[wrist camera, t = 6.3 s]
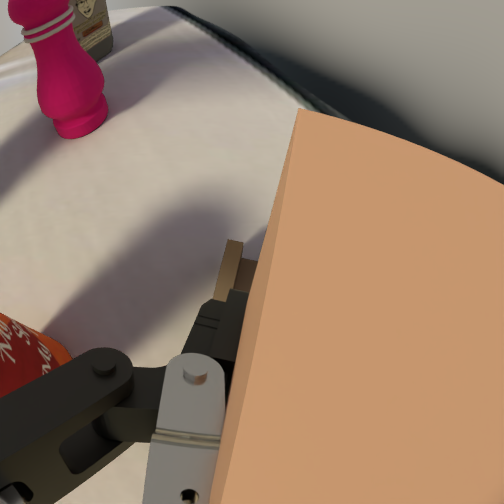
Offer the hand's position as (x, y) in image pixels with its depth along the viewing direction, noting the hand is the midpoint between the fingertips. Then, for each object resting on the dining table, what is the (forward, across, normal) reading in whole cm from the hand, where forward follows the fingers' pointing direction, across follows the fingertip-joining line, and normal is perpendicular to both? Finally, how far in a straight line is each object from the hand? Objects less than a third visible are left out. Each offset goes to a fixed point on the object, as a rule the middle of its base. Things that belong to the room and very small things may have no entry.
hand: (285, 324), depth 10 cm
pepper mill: (+20, +23, -5) cm, 31 cm away
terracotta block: (+5, 0, +8) cm, 10 cm away
